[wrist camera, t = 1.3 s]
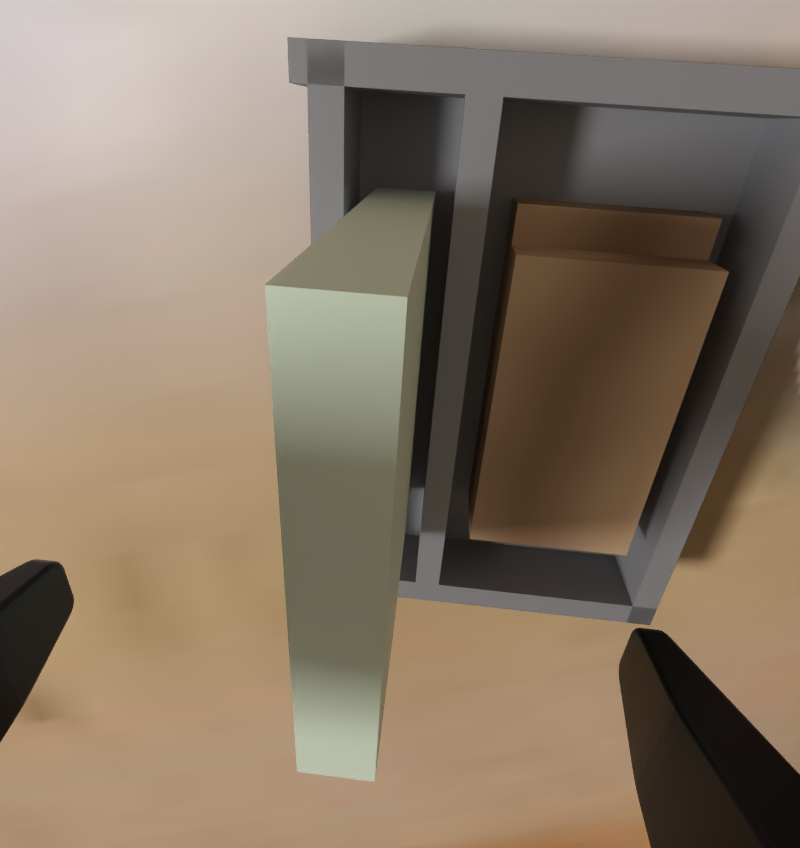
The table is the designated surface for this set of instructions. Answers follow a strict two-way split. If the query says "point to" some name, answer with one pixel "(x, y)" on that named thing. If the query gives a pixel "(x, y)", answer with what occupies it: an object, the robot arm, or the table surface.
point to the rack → (485, 250)
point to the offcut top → (585, 392)
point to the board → (347, 463)
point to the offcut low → (599, 244)
